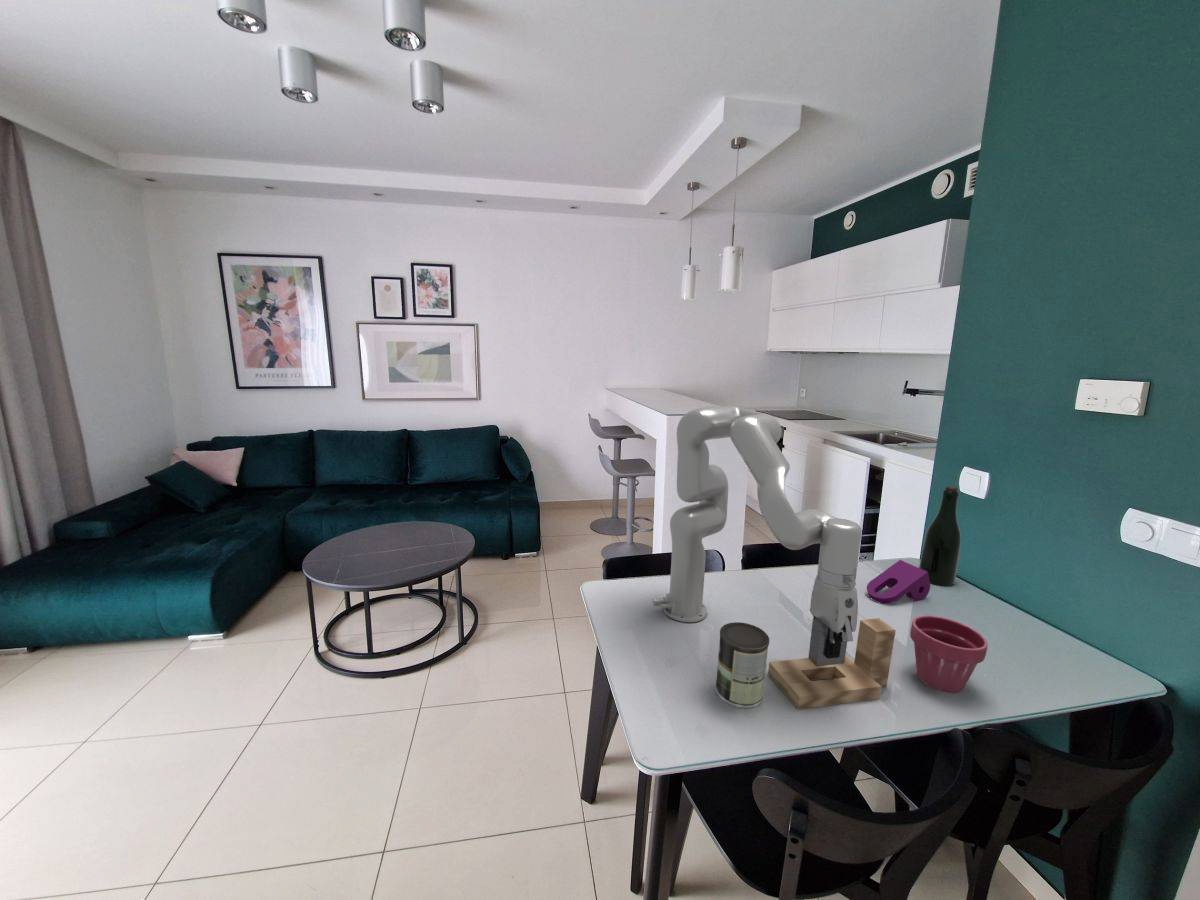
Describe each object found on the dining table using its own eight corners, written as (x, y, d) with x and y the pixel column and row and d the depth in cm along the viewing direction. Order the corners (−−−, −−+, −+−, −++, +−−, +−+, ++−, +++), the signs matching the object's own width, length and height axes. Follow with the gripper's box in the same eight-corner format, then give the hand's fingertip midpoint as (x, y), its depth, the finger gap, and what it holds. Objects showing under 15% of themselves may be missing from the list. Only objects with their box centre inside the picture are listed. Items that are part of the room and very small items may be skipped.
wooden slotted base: (798, 709, 104) (805, 649, 101) (767, 673, 116) (773, 619, 113) (898, 695, 109) (908, 638, 107) (860, 662, 121) (868, 610, 118)
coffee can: (706, 693, 108) (711, 635, 105) (727, 671, 116) (732, 616, 113) (752, 716, 102) (758, 655, 99) (770, 691, 110) (776, 633, 107)
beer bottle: (953, 578, 170) (969, 486, 164) (955, 589, 161) (973, 493, 155) (917, 570, 176) (932, 481, 169) (917, 581, 167) (933, 487, 161)
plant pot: (983, 682, 115) (993, 632, 112) (970, 711, 105) (981, 657, 103) (913, 654, 125) (921, 608, 122) (896, 678, 115) (904, 628, 113)
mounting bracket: (891, 623, 151) (932, 592, 155) (885, 602, 148) (927, 571, 152) (865, 608, 159) (904, 579, 164) (859, 588, 157) (900, 559, 161)
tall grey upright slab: (816, 666, 108) (821, 625, 107) (808, 658, 111) (812, 618, 109) (844, 663, 110) (849, 622, 108) (835, 655, 113) (840, 615, 111)
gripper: (879, 592, 100) (867, 673, 103) (827, 559, 115) (818, 631, 119) (846, 594, 98) (836, 677, 102) (798, 561, 114) (790, 633, 117)
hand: (826, 651), depth 110 cm, fingers closed on tall grey upright slab, 3 cm apart
